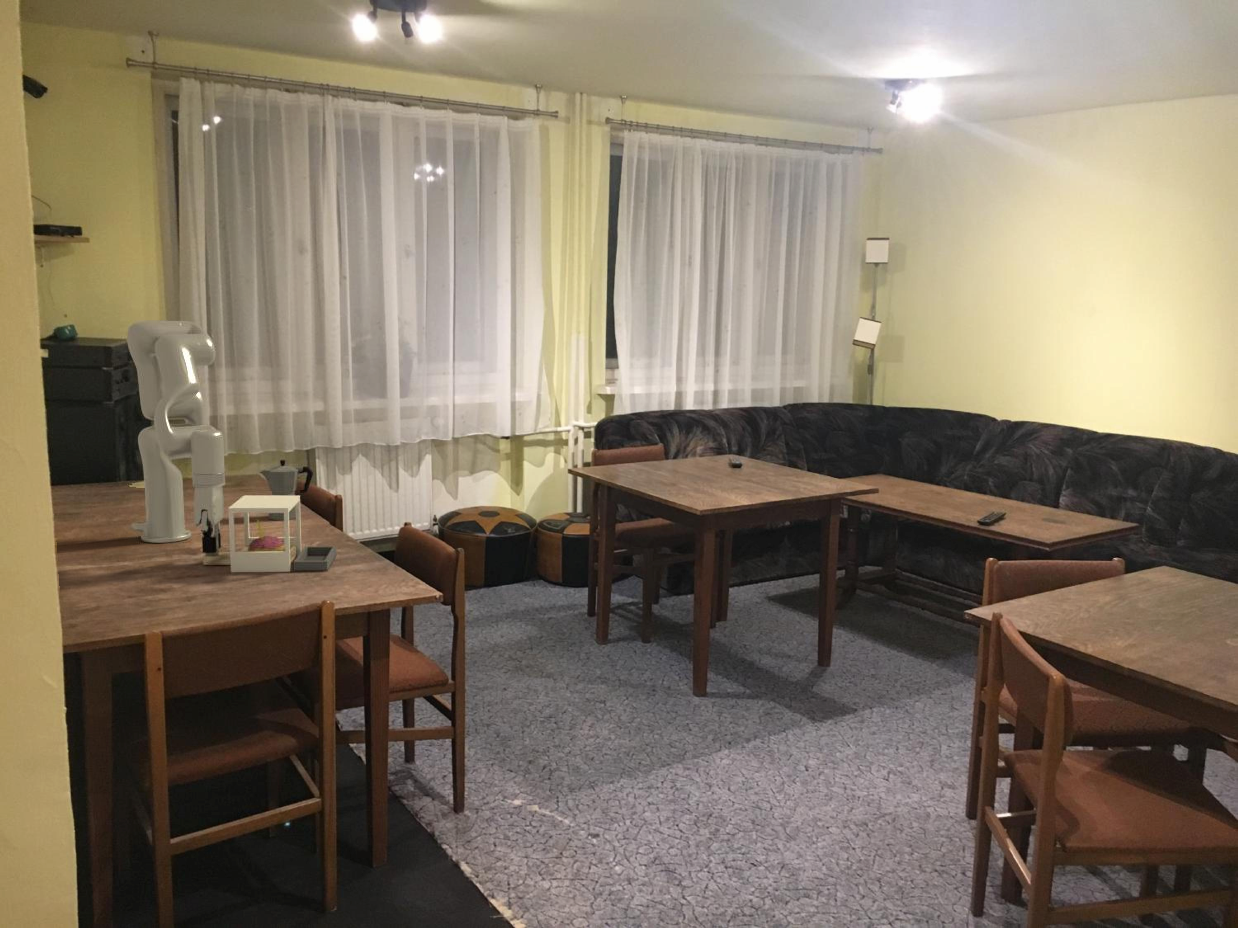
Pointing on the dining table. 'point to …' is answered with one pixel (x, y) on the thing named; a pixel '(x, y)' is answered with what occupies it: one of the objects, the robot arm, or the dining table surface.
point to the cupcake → (266, 543)
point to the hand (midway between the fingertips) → (211, 549)
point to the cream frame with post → (225, 557)
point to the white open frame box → (259, 560)
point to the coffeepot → (286, 484)
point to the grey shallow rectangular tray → (315, 558)
